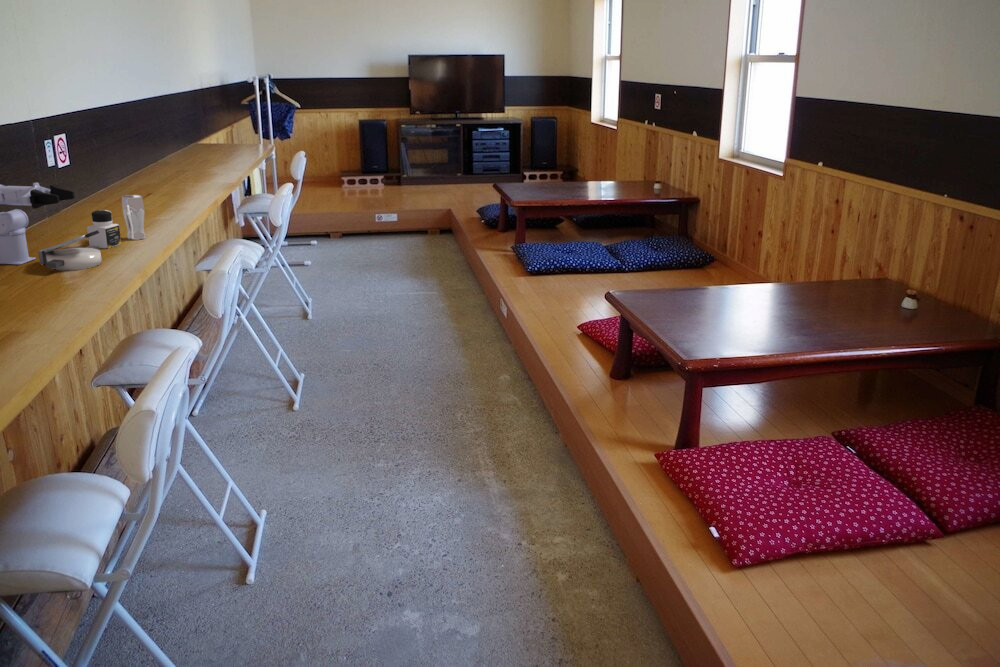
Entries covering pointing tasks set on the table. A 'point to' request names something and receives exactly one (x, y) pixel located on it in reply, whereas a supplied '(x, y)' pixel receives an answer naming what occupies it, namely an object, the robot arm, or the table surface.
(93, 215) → the medicine bottle
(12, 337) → the table surface
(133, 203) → the beer glass
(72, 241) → the lid
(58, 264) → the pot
